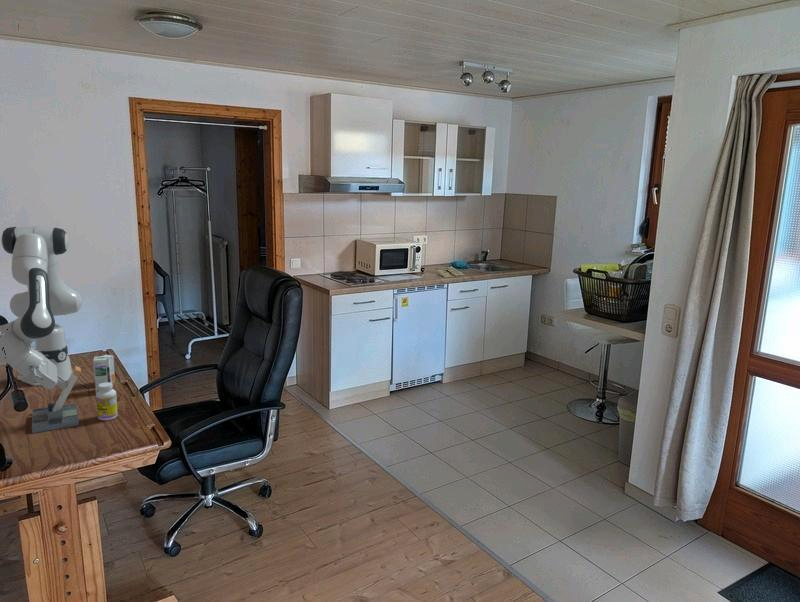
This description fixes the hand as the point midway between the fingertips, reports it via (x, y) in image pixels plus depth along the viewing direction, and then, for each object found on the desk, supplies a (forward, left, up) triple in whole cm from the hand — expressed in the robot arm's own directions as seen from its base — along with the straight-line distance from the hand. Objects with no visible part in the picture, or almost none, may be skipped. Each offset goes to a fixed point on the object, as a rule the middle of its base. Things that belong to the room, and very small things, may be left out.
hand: (65, 385), depth 206 cm
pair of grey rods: (-11, +4, -13) cm, 17 cm away
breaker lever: (-3, -3, -10) cm, 10 cm away
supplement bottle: (+12, +7, -13) cm, 19 cm away
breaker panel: (-3, -3, -13) cm, 13 cm away
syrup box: (-11, +26, -13) cm, 31 cm away
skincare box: (-17, +33, -13) cm, 39 cm away
